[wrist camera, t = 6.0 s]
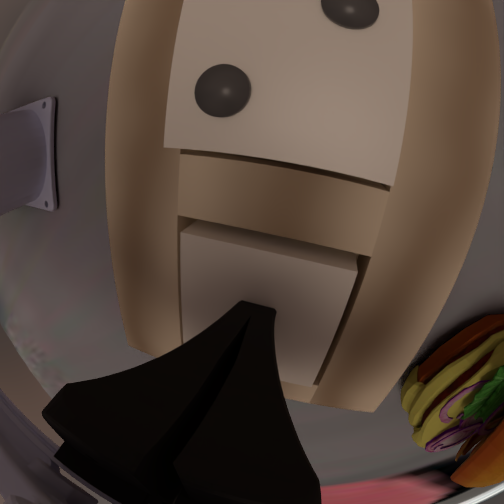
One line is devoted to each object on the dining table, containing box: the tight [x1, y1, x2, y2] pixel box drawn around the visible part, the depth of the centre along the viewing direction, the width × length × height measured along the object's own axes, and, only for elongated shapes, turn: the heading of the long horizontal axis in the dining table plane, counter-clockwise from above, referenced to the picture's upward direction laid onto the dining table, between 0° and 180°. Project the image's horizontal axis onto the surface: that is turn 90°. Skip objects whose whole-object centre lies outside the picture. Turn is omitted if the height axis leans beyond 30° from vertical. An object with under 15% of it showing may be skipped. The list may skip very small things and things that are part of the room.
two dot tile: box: [164, 0, 413, 186], centre depth 6 cm, size 6×6×3 cm
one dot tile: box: [180, 219, 358, 387], centre depth 11 cm, size 6×6×3 cm
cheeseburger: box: [401, 314, 504, 487], centre depth 9 cm, size 10×11×10 cm
